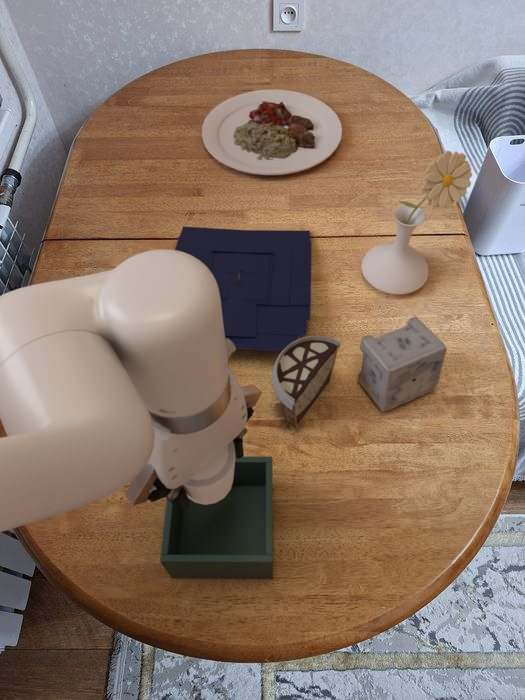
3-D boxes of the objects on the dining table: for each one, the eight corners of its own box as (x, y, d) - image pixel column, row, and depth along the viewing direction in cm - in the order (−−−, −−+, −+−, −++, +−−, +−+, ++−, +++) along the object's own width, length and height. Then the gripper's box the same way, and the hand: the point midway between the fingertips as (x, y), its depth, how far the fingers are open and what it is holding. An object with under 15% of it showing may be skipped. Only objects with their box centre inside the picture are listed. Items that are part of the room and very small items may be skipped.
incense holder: (405, 351, 87) (419, 310, 78) (436, 392, 83) (455, 353, 74) (351, 374, 85) (360, 334, 76) (380, 417, 80) (393, 380, 72)
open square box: (272, 578, 68) (272, 562, 61) (171, 578, 68) (159, 561, 61) (272, 481, 75) (272, 456, 68) (180, 481, 75) (171, 456, 68)
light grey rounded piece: (211, 438, 62) (205, 409, 57) (252, 480, 60) (249, 454, 54) (163, 478, 60) (151, 451, 54) (203, 524, 57) (195, 501, 51)
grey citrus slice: (301, 357, 87) (304, 318, 78) (334, 376, 85) (341, 338, 76) (255, 414, 81) (253, 379, 73) (290, 436, 79) (292, 402, 71)
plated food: (243, 199, 108) (242, 185, 105) (179, 122, 123) (177, 108, 120) (369, 151, 116) (371, 137, 113) (295, 83, 131) (295, 69, 128)
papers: (152, 357, 85) (148, 341, 83) (183, 238, 105) (180, 222, 102) (309, 364, 84) (310, 348, 82) (310, 242, 104) (311, 226, 101)
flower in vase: (363, 300, 93) (389, 179, 72) (357, 251, 99) (379, 127, 79) (441, 299, 93) (489, 178, 72) (429, 250, 99) (470, 126, 79)
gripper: (231, 299, 48) (240, 399, 63) (63, 426, 42) (117, 505, 56) (293, 349, 45) (288, 441, 60) (123, 494, 38) (164, 558, 53)
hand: (205, 471), depth 58 cm, fingers closed on light grey rounded piece, 6 cm apart
